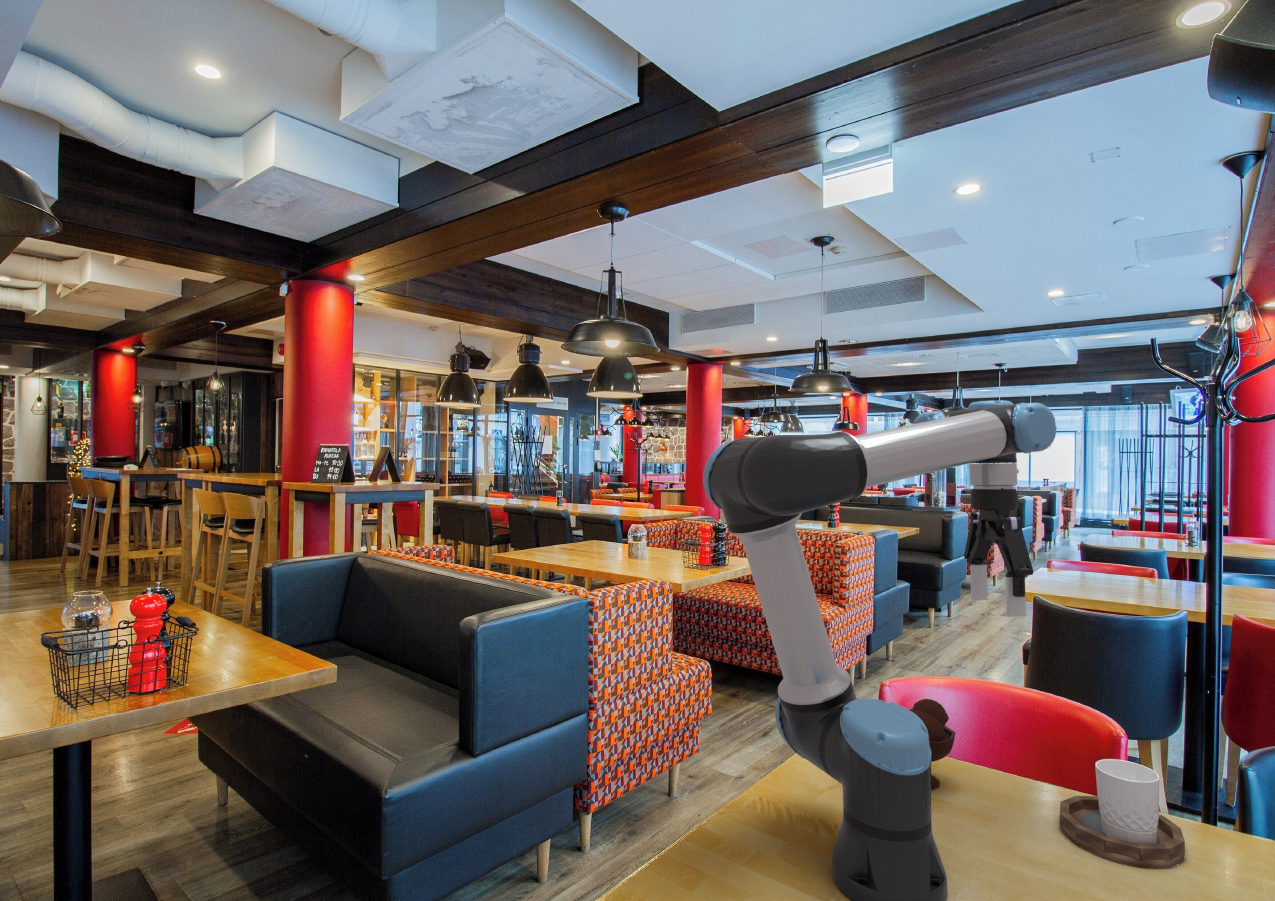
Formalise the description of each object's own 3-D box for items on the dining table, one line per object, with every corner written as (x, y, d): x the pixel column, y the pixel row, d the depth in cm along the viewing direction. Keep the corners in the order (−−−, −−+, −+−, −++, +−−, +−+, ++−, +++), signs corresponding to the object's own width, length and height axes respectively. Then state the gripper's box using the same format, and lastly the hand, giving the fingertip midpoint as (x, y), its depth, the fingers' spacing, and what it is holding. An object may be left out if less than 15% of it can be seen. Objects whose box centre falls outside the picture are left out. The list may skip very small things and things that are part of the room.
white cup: (1173, 854, 97) (1171, 783, 97) (1112, 848, 98) (1110, 779, 99) (1144, 825, 104) (1141, 760, 105) (1087, 820, 106) (1085, 756, 106)
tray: (1099, 867, 96) (1098, 847, 96) (1040, 811, 112) (1039, 794, 112) (1212, 869, 95) (1212, 849, 95) (1136, 813, 111) (1136, 796, 111)
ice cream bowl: (907, 763, 130) (906, 686, 131) (967, 783, 122) (965, 700, 123) (881, 781, 123) (879, 699, 124) (942, 803, 115) (940, 715, 115)
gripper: (1055, 489, 107) (1059, 623, 106) (982, 485, 132) (985, 593, 131) (1006, 490, 107) (1010, 623, 107) (943, 486, 132) (946, 593, 132)
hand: (996, 607), depth 119 cm, fingers open, 13 cm apart
